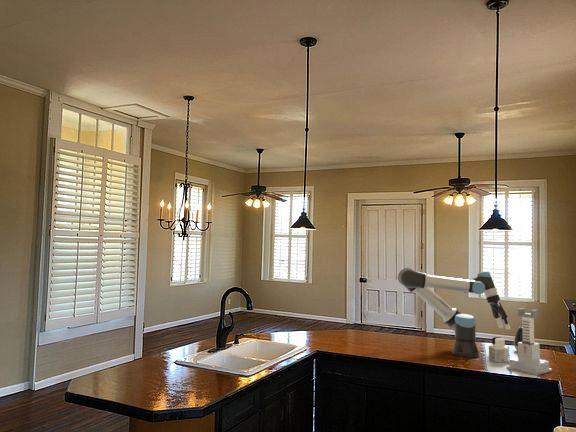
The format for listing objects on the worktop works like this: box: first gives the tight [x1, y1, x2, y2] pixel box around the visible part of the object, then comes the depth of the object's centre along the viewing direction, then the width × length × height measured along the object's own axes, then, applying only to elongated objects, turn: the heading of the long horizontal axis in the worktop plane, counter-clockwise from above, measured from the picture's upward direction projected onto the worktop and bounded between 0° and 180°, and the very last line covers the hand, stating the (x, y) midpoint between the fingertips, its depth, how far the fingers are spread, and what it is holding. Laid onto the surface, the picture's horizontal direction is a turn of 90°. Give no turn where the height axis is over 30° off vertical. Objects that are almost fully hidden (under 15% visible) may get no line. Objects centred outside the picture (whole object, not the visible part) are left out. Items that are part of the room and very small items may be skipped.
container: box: [488, 336, 510, 363], centre depth 263 cm, size 8×8×13 cm
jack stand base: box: [505, 341, 553, 376], centre depth 245 cm, size 16×16×15 cm
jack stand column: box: [517, 307, 539, 345], centre depth 245 cm, size 8×5×30 cm, turn 35°
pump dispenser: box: [513, 326, 523, 352], centre depth 286 cm, size 10×10×15 cm
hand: (505, 328), depth 283 cm, fingers open, 13 cm apart
